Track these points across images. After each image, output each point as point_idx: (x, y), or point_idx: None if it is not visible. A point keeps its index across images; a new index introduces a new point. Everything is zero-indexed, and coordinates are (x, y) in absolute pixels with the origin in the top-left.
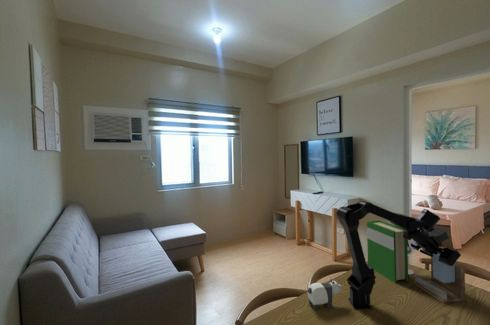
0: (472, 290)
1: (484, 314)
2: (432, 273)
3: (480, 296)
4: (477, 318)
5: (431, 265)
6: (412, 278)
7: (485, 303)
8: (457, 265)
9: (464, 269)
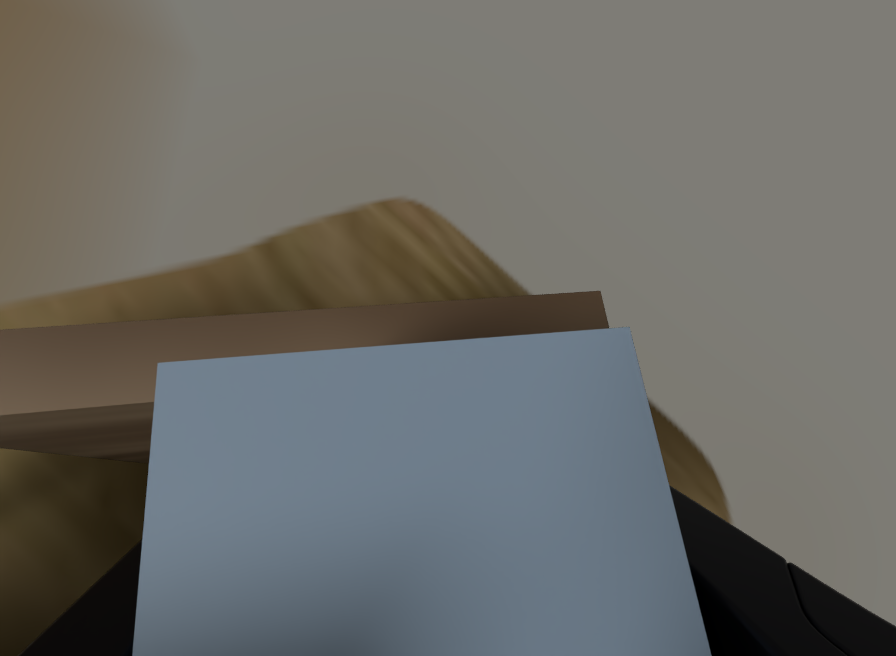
0: (358, 228)
1: (655, 412)
2: (137, 457)
3: (439, 245)
4: (708, 505)
5: (52, 452)
6: (28, 619)
7: (525, 289)
8: (485, 312)
9: (593, 302)
